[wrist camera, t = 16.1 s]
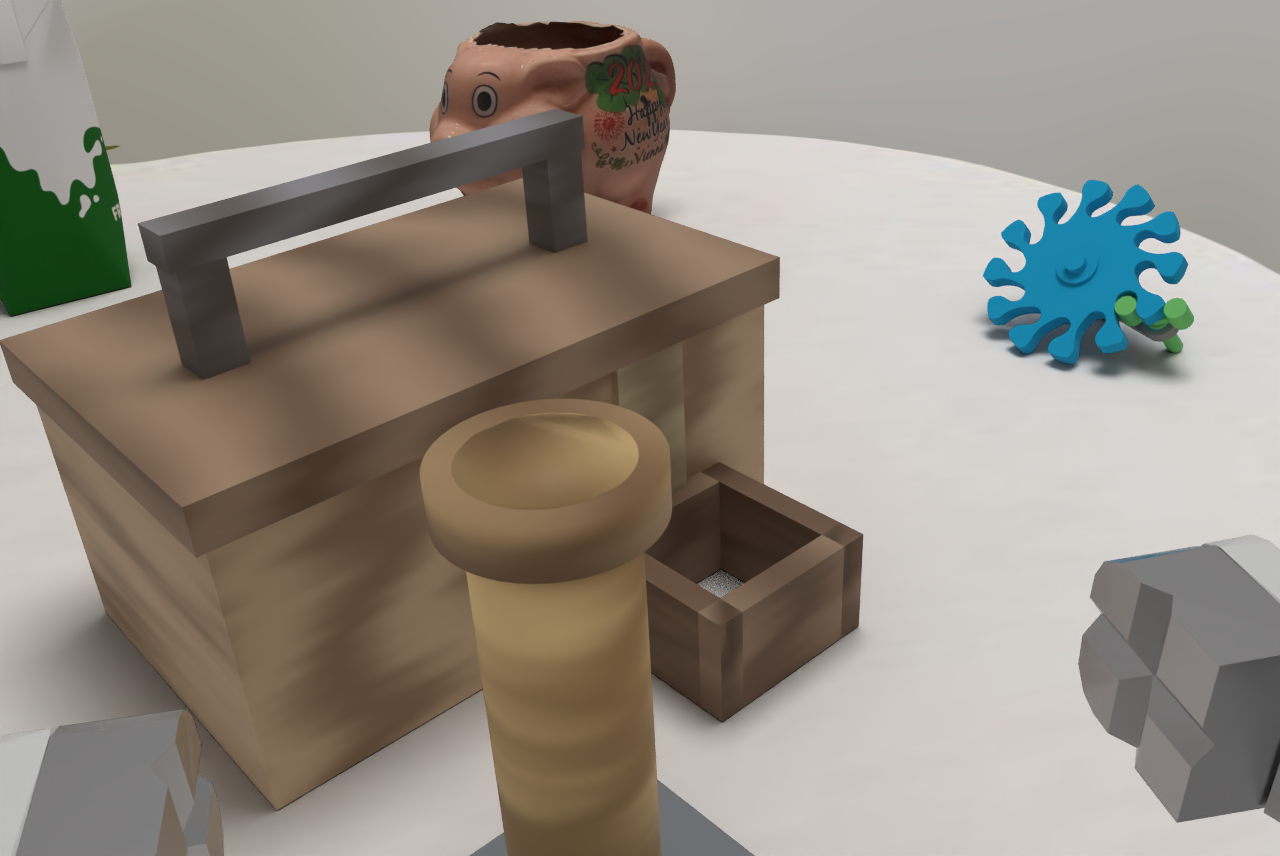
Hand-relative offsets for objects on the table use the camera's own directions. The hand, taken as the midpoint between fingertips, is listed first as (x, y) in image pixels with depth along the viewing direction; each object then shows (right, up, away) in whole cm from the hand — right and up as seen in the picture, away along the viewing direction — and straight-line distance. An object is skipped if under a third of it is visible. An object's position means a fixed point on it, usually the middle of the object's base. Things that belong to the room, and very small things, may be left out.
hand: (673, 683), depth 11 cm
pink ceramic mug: (-4, +13, +67) cm, 68 cm away
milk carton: (-37, +11, +66) cm, 77 cm away
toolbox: (-6, -4, +36) cm, 36 cm away
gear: (+23, +7, +53) cm, 58 cm away
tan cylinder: (-1, -12, +21) cm, 24 cm away
